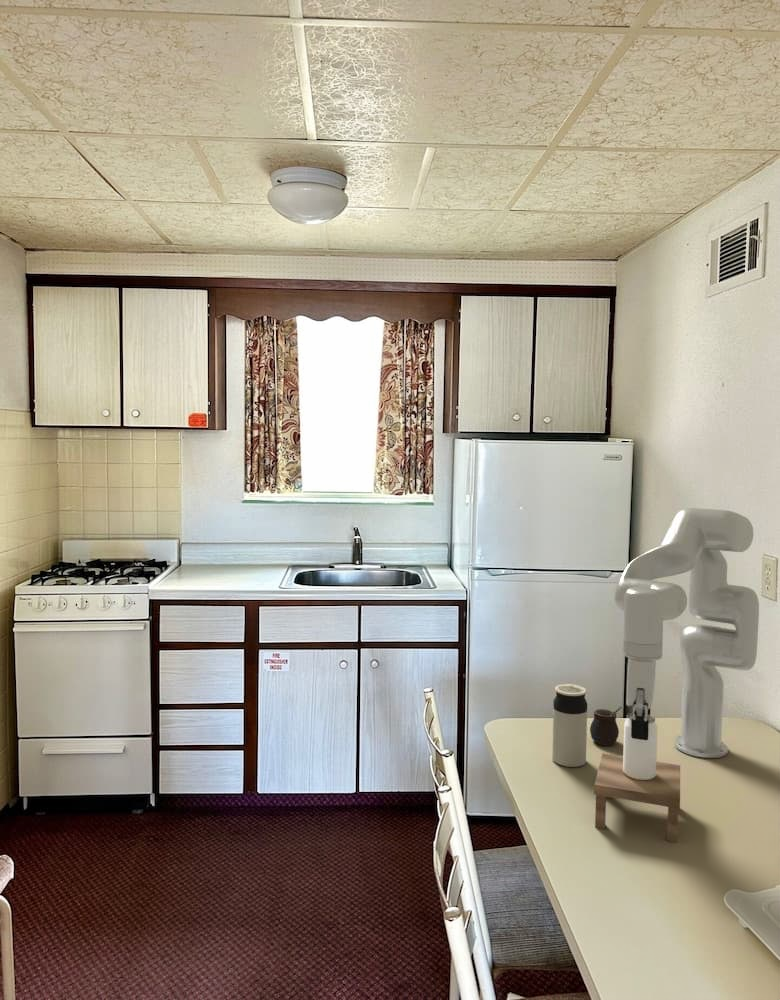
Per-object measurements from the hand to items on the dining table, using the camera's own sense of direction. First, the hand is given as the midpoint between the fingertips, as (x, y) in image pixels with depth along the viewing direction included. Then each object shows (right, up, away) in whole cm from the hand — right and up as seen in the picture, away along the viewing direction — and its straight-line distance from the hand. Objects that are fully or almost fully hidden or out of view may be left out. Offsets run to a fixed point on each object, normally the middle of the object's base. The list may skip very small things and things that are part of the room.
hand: (640, 729), depth 152 cm
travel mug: (-8, -17, +28) cm, 33 cm away
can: (0, -10, +1) cm, 10 cm away
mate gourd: (+4, -16, +39) cm, 42 cm away
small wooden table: (0, -18, +1) cm, 18 cm away
